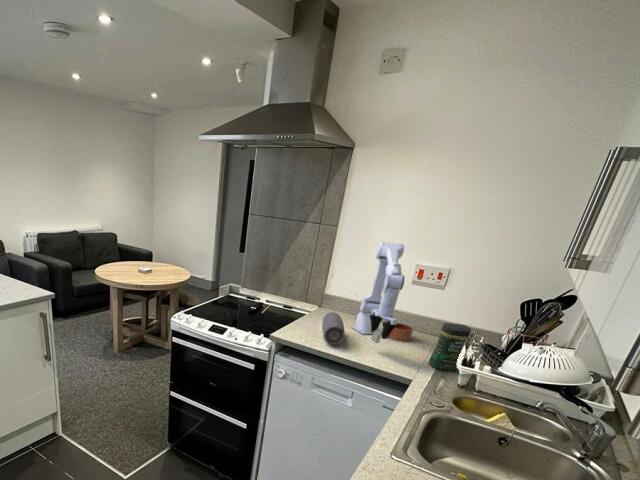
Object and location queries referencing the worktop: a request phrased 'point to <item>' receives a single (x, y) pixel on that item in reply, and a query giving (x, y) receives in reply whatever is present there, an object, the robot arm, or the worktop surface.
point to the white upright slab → (377, 335)
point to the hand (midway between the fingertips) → (378, 335)
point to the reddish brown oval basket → (401, 332)
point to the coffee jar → (449, 346)
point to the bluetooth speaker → (333, 328)
